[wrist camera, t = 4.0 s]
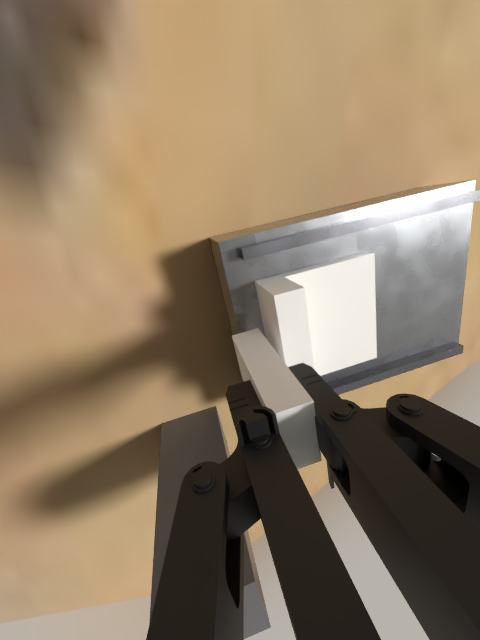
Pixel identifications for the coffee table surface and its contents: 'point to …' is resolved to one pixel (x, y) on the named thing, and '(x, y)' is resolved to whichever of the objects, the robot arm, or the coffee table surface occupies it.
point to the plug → (175, 461)
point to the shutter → (322, 313)
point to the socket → (390, 271)
